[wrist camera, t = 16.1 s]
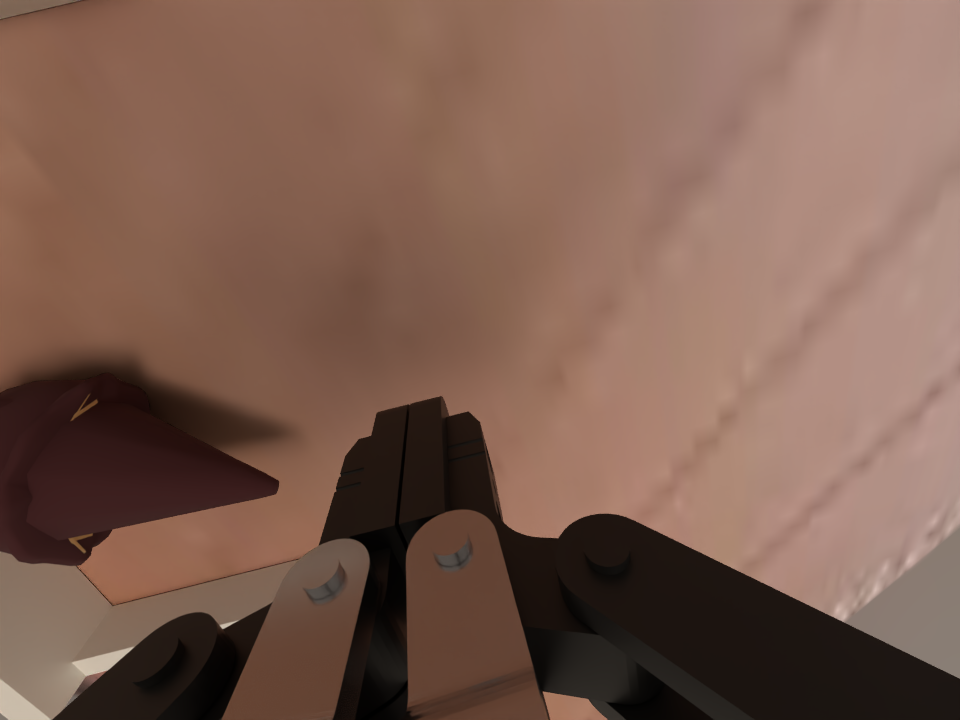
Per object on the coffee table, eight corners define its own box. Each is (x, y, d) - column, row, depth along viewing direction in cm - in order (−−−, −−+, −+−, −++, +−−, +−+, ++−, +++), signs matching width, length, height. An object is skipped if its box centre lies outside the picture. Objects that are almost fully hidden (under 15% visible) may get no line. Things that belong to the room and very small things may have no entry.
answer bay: (127, -65, 13) (-39, -195, 8) (394, 551, 24) (386, 638, 20) (-446, 66, 13) (-939, 7, 8) (99, 625, 24) (23, 730, 20)
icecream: (243, 429, 13) (-314, 356, 12) (225, 638, 14) (-288, 594, 13) (314, 382, 20) (-31, 333, 19) (298, 525, 21) (-30, 489, 20)
